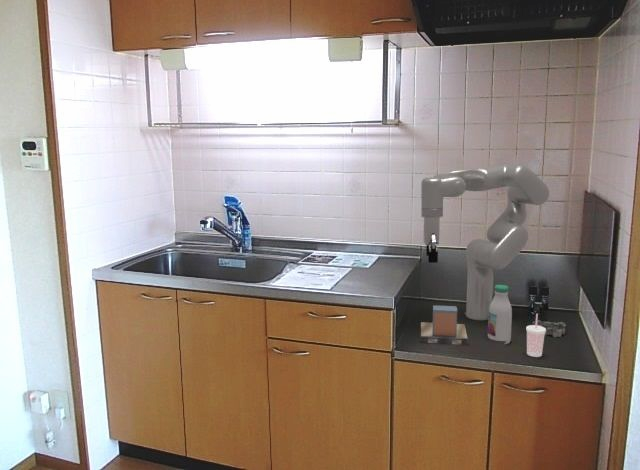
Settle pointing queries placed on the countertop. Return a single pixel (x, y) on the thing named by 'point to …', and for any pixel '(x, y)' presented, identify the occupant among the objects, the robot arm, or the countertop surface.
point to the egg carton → (552, 328)
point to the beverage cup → (535, 339)
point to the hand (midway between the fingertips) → (431, 258)
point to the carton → (444, 321)
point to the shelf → (427, 337)
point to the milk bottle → (500, 315)
